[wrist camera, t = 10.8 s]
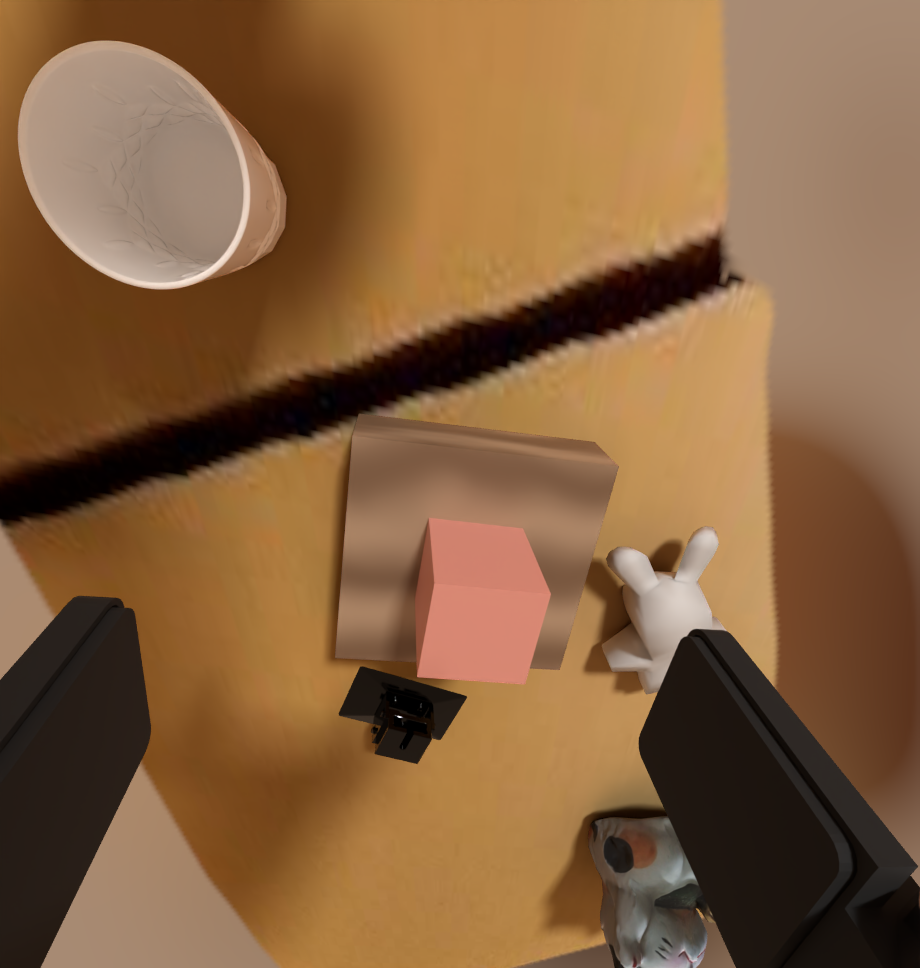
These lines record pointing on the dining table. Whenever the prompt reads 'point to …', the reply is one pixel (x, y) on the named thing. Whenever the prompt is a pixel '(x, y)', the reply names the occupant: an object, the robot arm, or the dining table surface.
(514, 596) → the red block
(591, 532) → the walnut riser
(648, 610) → the bunny figurine
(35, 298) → the dining table surface
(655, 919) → the lucky cat figurine
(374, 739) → the black boxy gadget
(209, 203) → the white cup
